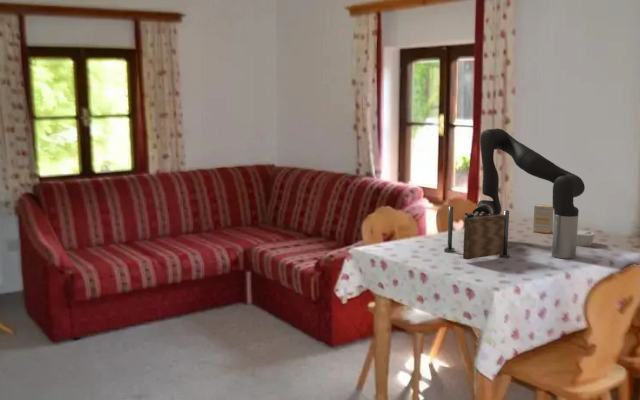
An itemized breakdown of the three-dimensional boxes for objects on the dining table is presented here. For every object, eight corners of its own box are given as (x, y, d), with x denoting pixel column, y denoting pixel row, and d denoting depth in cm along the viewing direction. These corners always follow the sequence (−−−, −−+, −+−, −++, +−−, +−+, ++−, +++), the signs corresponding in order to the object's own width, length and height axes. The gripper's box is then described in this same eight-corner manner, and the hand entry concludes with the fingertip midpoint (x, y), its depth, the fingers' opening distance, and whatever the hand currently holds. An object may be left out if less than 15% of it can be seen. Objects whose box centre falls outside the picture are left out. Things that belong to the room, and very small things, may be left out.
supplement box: (552, 232, 319) (554, 205, 317) (550, 234, 315) (551, 206, 313) (535, 230, 323) (536, 203, 321) (532, 232, 319) (534, 205, 317)
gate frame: (509, 256, 272) (511, 210, 269) (508, 258, 268) (510, 211, 265) (446, 249, 282) (447, 205, 279) (444, 251, 279) (445, 207, 276)
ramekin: (596, 247, 288) (597, 235, 287) (569, 246, 290) (569, 234, 289) (591, 241, 299) (592, 230, 298) (565, 240, 301) (565, 229, 300)
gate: (499, 252, 271) (501, 214, 268) (503, 254, 269) (505, 215, 266) (462, 258, 261) (464, 218, 259) (467, 259, 259) (468, 219, 257)
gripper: (467, 204, 289) (459, 210, 273) (498, 205, 284) (492, 211, 268) (467, 221, 290) (459, 228, 274) (498, 222, 285) (492, 229, 269)
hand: (475, 219), depth 271 cm, fingers closed
